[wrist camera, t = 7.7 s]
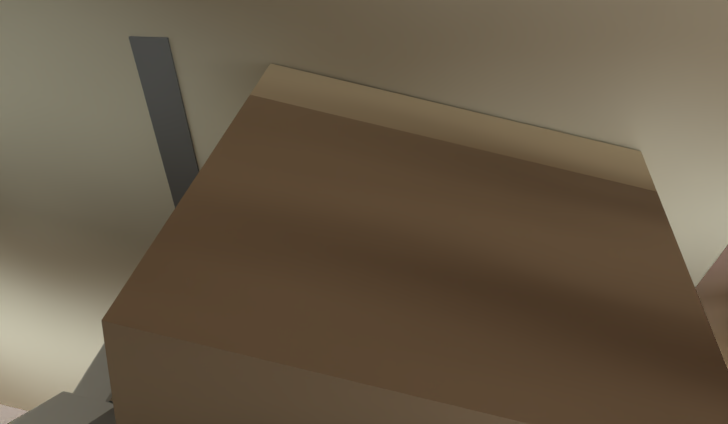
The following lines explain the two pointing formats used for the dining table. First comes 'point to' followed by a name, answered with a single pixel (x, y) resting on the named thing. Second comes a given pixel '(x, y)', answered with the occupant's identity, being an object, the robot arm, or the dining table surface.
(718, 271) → the dining table surface
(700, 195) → the board
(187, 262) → the block
